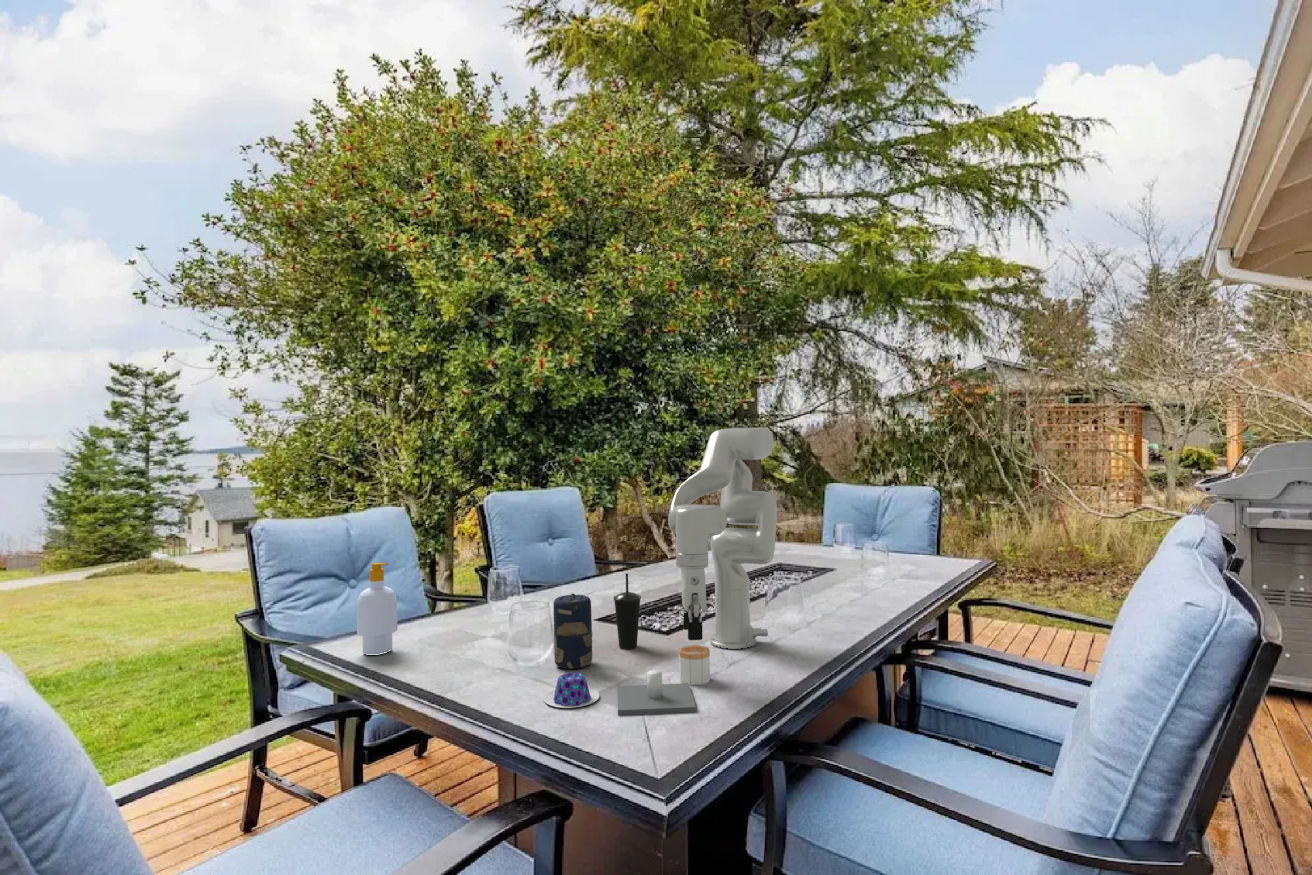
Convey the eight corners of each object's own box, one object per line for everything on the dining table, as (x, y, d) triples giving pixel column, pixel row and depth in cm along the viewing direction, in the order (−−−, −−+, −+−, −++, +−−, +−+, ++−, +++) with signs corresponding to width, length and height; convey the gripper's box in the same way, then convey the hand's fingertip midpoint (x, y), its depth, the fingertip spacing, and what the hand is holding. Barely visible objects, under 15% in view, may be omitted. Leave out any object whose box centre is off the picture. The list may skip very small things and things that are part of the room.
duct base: (688, 687, 153) (688, 660, 153) (695, 711, 139) (695, 682, 139) (617, 690, 152) (617, 663, 152) (617, 714, 138) (617, 685, 138)
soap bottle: (383, 659, 178) (382, 567, 179) (348, 657, 180) (347, 566, 181) (405, 647, 188) (404, 560, 189) (372, 646, 190) (371, 560, 191)
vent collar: (707, 674, 162) (706, 644, 162) (711, 684, 155) (710, 653, 155) (678, 675, 162) (678, 645, 162) (681, 685, 155) (680, 654, 155)
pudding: (552, 715, 140) (551, 689, 140) (538, 695, 151) (537, 672, 151) (607, 705, 145) (606, 680, 145) (589, 687, 156) (589, 664, 156)
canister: (598, 661, 174) (597, 590, 174) (582, 673, 165) (581, 598, 165) (565, 657, 177) (563, 588, 177) (547, 669, 168) (546, 596, 168)
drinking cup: (638, 651, 181) (637, 576, 181) (610, 650, 183) (609, 575, 183) (644, 643, 188) (643, 571, 189) (618, 642, 190) (616, 570, 190)
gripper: (713, 565, 150) (714, 643, 149) (703, 555, 167) (703, 625, 167) (679, 566, 150) (680, 644, 149) (673, 555, 167) (673, 625, 166)
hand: (692, 634), depth 158 cm, fingers open, 9 cm apart
